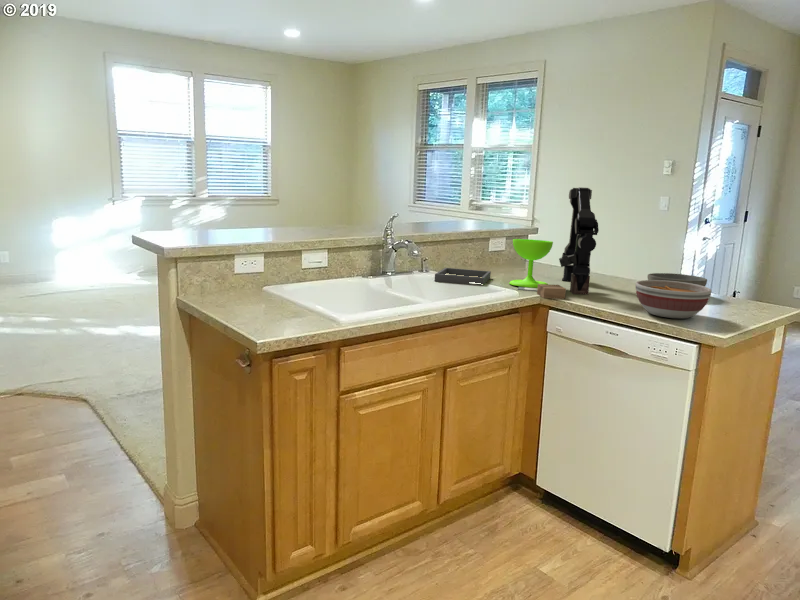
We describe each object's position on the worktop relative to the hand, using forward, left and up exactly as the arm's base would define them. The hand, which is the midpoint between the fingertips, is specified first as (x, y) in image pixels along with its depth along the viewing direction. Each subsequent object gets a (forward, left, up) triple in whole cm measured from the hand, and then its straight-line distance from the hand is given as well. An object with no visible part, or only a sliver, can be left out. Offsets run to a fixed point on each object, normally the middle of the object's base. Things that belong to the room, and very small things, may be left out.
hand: (579, 289), depth 235 cm
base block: (+12, -10, -2) cm, 16 cm away
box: (0, 0, -2) cm, 2 cm away
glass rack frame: (-8, -47, -2) cm, 48 cm away
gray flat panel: (0, -16, -2) cm, 16 cm away
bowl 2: (+28, +29, -2) cm, 40 cm away
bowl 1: (-13, +36, -2) cm, 38 cm away
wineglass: (-7, -20, -1) cm, 21 cm away
